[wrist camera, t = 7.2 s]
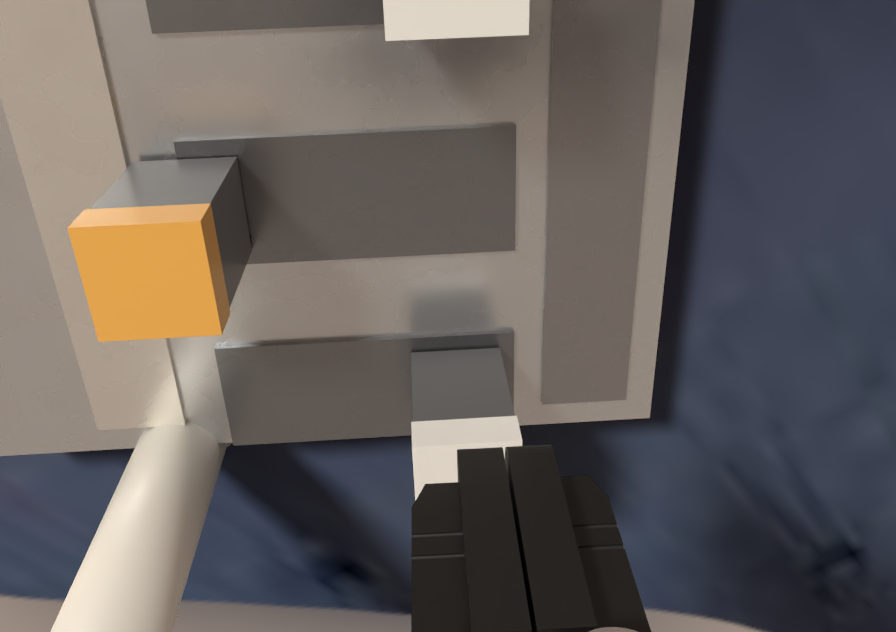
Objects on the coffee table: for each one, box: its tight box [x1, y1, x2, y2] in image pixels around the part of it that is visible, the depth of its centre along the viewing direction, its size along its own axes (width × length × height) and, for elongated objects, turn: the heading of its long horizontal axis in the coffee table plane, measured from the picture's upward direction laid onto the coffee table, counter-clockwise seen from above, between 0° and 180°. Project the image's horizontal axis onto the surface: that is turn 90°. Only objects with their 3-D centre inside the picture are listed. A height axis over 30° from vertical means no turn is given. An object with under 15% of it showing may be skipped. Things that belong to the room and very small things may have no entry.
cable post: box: [51, 422, 232, 632], centre depth 26 cm, size 4×4×14 cm
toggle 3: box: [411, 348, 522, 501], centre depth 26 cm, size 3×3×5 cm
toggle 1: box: [67, 157, 252, 342], centre depth 22 cm, size 3×3×5 cm
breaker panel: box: [0, 0, 695, 456], centre depth 26 cm, size 24×18×3 cm
